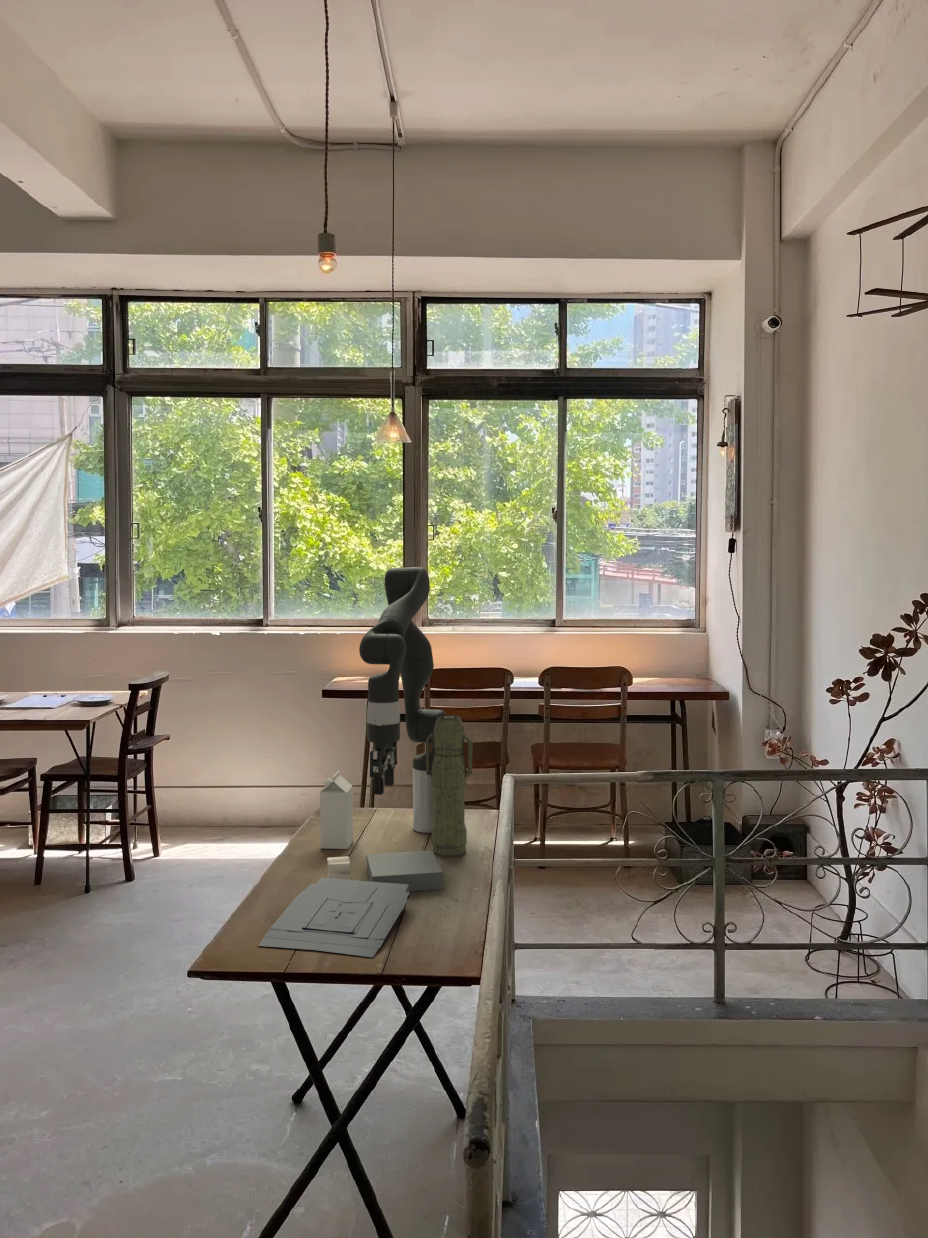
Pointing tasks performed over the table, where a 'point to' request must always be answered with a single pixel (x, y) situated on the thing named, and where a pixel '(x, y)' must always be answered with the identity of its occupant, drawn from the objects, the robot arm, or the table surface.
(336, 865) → the cream cube
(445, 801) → the thermos
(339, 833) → the milk carton
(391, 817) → the table surface
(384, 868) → the charcoal plinth
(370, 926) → the papers
